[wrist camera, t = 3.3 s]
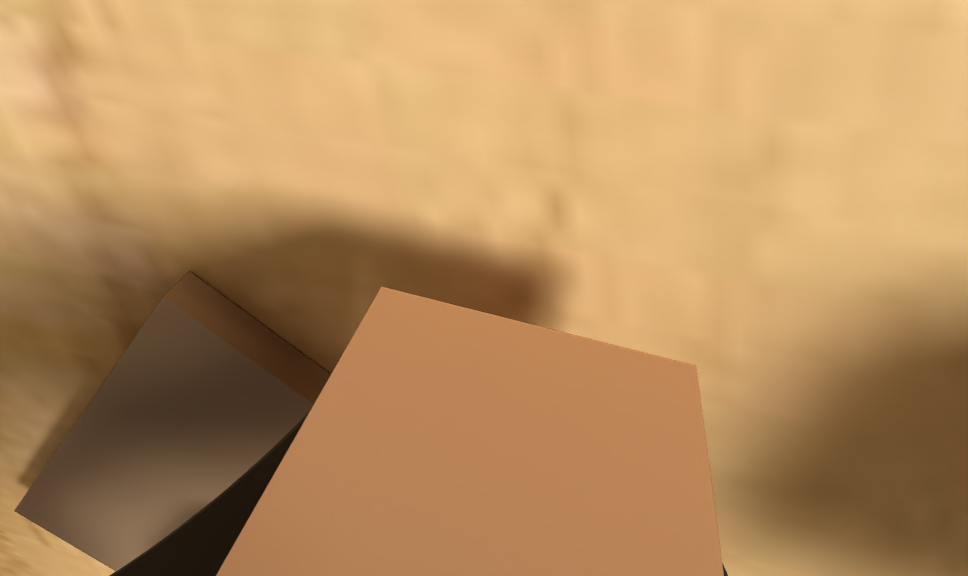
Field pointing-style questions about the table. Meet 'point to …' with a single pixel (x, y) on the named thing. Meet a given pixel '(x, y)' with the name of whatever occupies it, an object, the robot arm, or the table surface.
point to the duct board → (172, 425)
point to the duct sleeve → (488, 458)
